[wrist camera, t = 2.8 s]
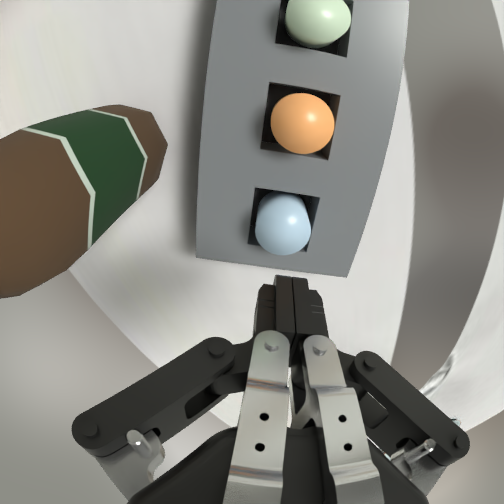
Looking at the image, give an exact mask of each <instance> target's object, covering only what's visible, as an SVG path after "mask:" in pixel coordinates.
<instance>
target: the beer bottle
mask: <svg viewBox="0 0 504 504" xmlns="http://www.w3.org/2000/svg"><path fill="white" fill-rule="evenodd" d="M167 146H168V144H167V142H166V140H165V138H164V136H163V134H162V132H161V130H160V128H159V126H158V125H157V123H156V121H155V119H154V117H153V115H152V113H151V112H148V111H144V110H140V109H136V108H132V107H128V106H124V105H108V106H103V107H98V108H93V109H89V110H84V111H80V112H76V113H72V114H68V115H64V116H61V117H57V118H54V119H50V120H47V121H44V122H40V123H37V124H34V125H31V126H28V127H25V128H22V129H20V130H18V131H16V132H14V133H12V134H10V135H8V136H6V137H4V138H2V139H0V299H1V298H8V297H14V296H20V295H22V294H23V293H25V292H27V291H29V290H31V289H33V288H35V287H37V286H39V285H41V284H42V283H44V282H46V281H48V280H50V279H51V278H53V277H55V276H57V275H58V274H60V273H62V272H64V271H66V270H67V269H68V268H69V267H70V266H71V265H72V264H73V263H74V262H75V261H76V260H78V259H79V258H80V257H81V256H82V255H83V254H84V253H85V252H86V251H87V250H88V249H89V248H90V247H91V246H92V245H93V244H94V243H95V242H96V241H97V239H98V238H99V237H100V236H101V235H102V234H103V233H104V232H105V231H106V230H107V229H108V228H109V227H110V226H111V225H112V224H113V223H114V222H115V221H116V220H117V219H118V218H119V217H120V216H121V215H122V214H123V213H124V212H125V211H126V210H127V209H128V208H129V207H130V206H131V205H132V204H133V203H134V202H135V201H136V200H137V199H138V198H139V197H140V196H141V195H143V194H144V193H145V192H146V191H147V190H148V189H149V188H150V187H151V186H152V185H153V184H154V183H155V182H156V181H157V180H158V178H159V175H160V171H161V167H162V164H163V160H164V156H165V153H166V149H167Z"/></svg>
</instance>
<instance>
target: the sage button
mask: <svg viewBox="0 0 504 504" xmlns="http://www.w3.org/2000/svg"><path fill="white" fill-rule="evenodd" d="M350 23H351V14H350V11H349V8H348V7H347V5H346V4H345V2H344V1H343V0H289V2H288V5H287V10H286V15H285V20H284V24H285V29H286V31H287V33H288V35H289V36H290V37H291V38H292V39H293V40H294V41H295V42H297V43H298V44H300V45H302V46H305V47H309V48H322V47H326V46H328V45H330V44H331V43H333V42H334V41H335V40H337V39H338V38H339V37H341V36H342V35H343V34H344V33H345V32H346V31H347V30H348V28H349V26H350Z"/></svg>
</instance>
